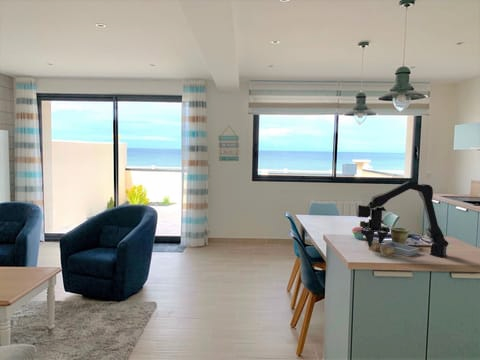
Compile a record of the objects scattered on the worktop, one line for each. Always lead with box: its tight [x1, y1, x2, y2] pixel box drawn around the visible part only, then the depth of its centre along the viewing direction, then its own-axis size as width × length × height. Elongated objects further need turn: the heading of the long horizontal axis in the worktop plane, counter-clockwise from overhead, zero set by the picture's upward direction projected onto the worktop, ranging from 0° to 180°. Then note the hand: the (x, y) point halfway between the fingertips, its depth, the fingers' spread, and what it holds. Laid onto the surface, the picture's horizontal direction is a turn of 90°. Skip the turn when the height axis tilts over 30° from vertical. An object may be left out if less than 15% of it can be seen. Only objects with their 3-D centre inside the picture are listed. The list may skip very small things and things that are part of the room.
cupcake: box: [351, 220, 365, 240], centre depth 216 cm, size 9×8×12 cm
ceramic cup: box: [390, 226, 410, 245], centre depth 202 cm, size 13×10×10 cm
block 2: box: [380, 246, 395, 258], centre depth 180 cm, size 4×4×4 cm
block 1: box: [367, 241, 382, 253], centre depth 188 cm, size 4×4×4 cm
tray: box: [381, 241, 420, 257], centre depth 188 cm, size 16×11×3 cm
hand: (374, 245), depth 188 cm, fingers open, 9 cm apart
